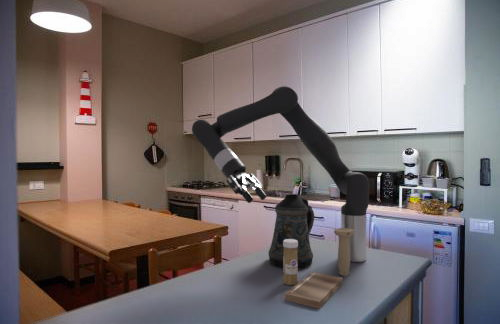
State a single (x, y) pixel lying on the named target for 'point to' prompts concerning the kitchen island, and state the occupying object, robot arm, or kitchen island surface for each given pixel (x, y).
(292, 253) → the sprinkles bottle
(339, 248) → the handle
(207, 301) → the kitchen island surface
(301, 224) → the beer stein
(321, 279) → the walnut board
